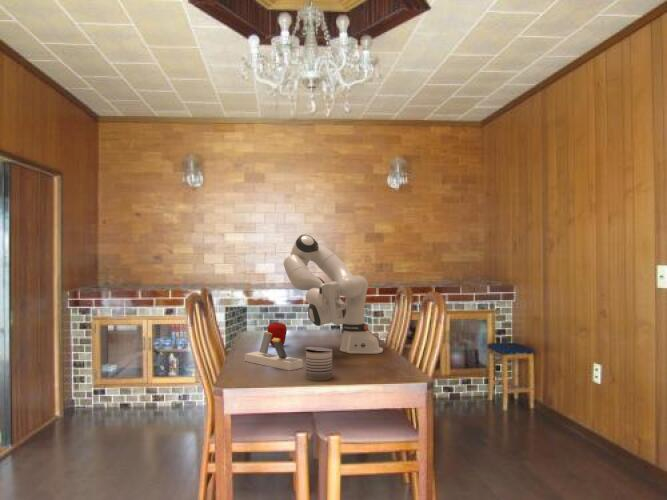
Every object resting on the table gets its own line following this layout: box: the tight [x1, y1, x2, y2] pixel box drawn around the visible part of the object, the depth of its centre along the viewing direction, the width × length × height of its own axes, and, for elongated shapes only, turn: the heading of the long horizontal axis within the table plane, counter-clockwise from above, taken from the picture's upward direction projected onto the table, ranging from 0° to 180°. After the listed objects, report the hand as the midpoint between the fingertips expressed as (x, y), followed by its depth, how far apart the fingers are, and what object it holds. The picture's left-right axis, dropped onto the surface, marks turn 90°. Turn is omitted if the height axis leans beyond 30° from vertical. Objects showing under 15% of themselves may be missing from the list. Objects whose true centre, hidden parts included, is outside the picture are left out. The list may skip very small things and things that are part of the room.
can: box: [305, 346, 333, 381], centre depth 218 cm, size 11×11×12 cm
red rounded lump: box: [266, 321, 288, 347], centre depth 288 cm, size 10×10×14 cm
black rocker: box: [272, 338, 288, 359], centre depth 235 cm, size 2×4×10 cm, turn 50°
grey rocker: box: [258, 331, 272, 354], centre depth 247 cm, size 2×4×10 cm, turn 50°
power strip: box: [244, 350, 304, 372], centre depth 241 cm, size 8×30×4 cm, turn 50°
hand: (343, 306), depth 236 cm, fingers closed
